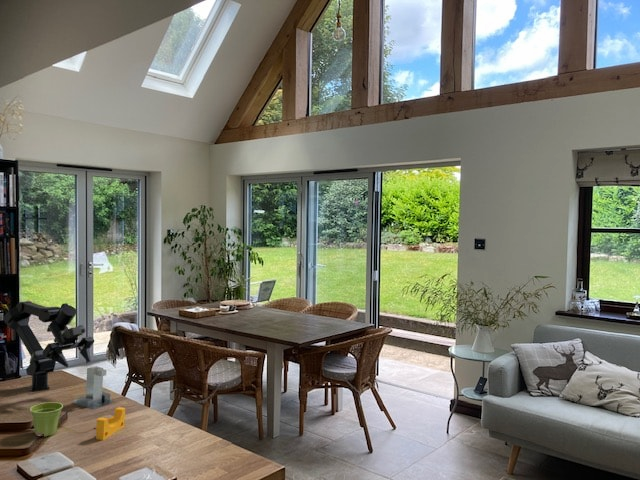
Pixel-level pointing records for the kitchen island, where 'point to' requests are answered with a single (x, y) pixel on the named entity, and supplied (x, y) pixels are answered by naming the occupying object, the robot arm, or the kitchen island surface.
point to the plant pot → (46, 417)
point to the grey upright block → (95, 383)
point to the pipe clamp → (110, 424)
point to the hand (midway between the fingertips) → (78, 363)
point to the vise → (89, 402)
